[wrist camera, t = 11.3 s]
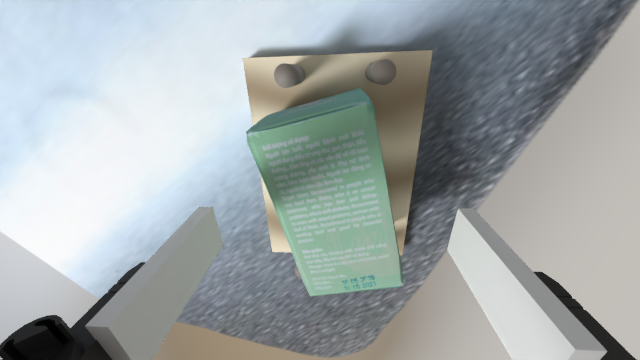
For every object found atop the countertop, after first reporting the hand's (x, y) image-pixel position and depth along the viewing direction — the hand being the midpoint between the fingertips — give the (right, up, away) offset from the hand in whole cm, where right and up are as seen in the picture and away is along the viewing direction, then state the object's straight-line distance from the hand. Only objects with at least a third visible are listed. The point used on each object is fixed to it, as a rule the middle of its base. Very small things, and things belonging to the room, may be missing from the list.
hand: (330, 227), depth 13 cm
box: (+1, +3, +9) cm, 9 cm away
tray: (+1, +4, +9) cm, 10 cm away
